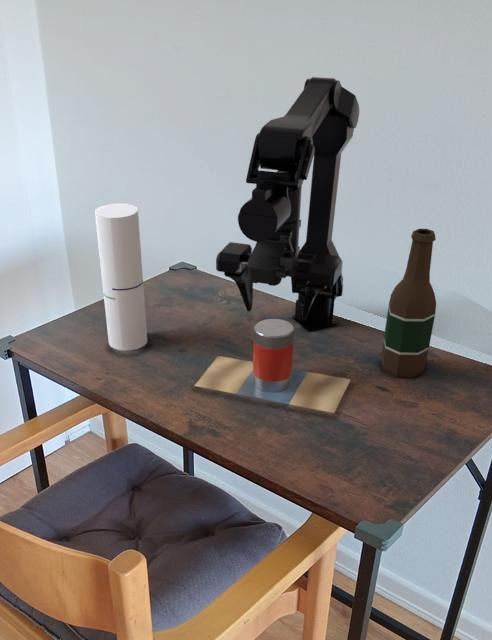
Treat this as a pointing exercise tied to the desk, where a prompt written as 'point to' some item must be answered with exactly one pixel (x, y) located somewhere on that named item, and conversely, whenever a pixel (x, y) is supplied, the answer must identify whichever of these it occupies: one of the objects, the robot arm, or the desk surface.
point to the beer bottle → (411, 312)
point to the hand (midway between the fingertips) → (276, 314)
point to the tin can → (273, 355)
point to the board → (309, 393)
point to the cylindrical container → (122, 275)
